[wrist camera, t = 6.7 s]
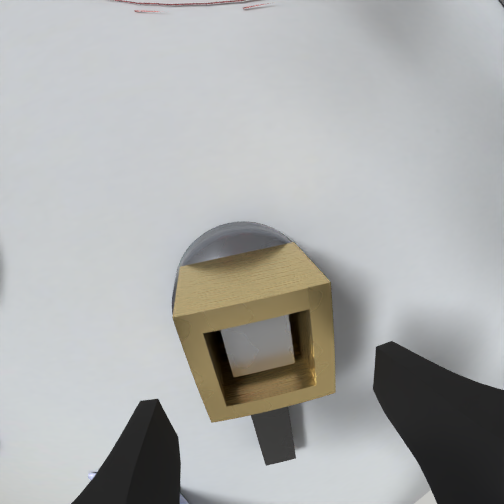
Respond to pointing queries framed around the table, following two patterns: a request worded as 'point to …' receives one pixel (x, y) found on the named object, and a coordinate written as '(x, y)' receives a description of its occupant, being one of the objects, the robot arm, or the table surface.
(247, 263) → the open wooden box
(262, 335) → the ratchet
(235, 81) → the table surface
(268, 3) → the figurine
